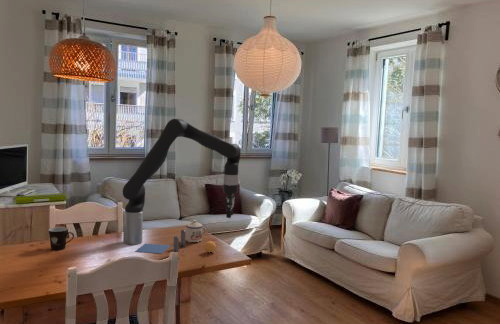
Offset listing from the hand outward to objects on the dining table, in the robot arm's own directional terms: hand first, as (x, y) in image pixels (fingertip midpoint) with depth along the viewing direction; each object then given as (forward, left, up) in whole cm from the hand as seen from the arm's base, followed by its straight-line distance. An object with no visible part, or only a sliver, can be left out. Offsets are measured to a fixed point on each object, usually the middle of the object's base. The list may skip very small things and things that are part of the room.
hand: (229, 216), depth 202 cm
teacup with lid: (-22, +20, -20) cm, 35 cm away
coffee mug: (-84, -12, -20) cm, 87 cm away
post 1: (-26, -6, -20) cm, 33 cm away
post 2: (-26, +6, -20) cm, 33 cm away
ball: (-10, 0, -17) cm, 19 cm away
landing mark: (-40, 0, -20) cm, 44 cm away
